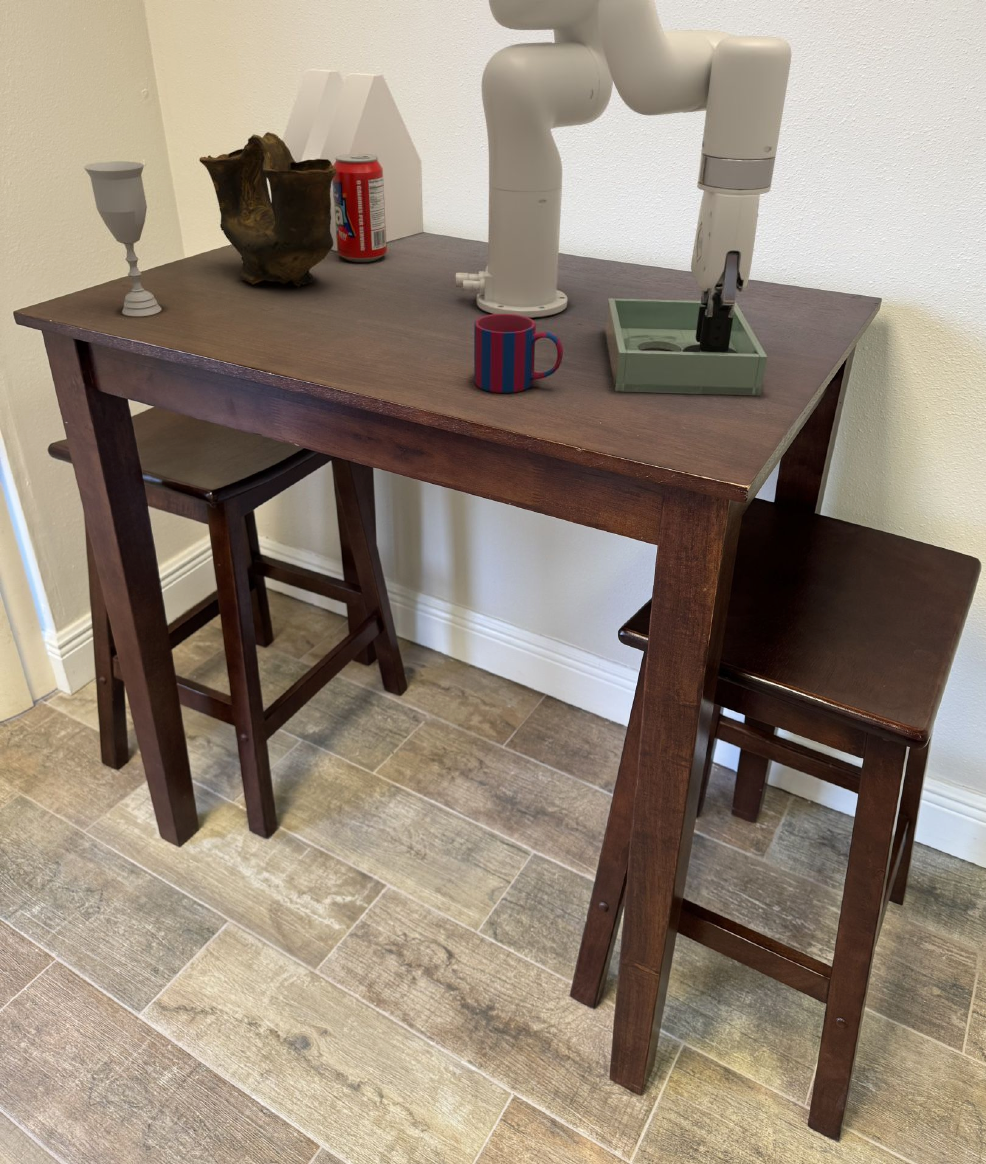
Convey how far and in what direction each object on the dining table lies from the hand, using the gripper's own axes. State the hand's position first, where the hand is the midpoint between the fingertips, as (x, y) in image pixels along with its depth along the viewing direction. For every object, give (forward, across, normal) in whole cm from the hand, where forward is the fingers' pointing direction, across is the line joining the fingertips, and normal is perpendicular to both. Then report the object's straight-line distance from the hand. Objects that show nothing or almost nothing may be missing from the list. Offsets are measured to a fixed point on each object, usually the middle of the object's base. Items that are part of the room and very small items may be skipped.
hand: (711, 344), depth 107 cm
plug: (+2, 0, 0) cm, 2 cm away
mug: (+4, +5, -22) cm, 23 cm away
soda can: (+3, -48, -48) cm, 68 cm away
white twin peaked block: (+3, -63, -52) cm, 82 cm away
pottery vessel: (+3, -34, -58) cm, 67 cm away
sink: (+3, -4, -3) cm, 6 cm away
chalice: (+3, -18, -73) cm, 75 cm away
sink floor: (+3, -4, -3) cm, 6 cm away
